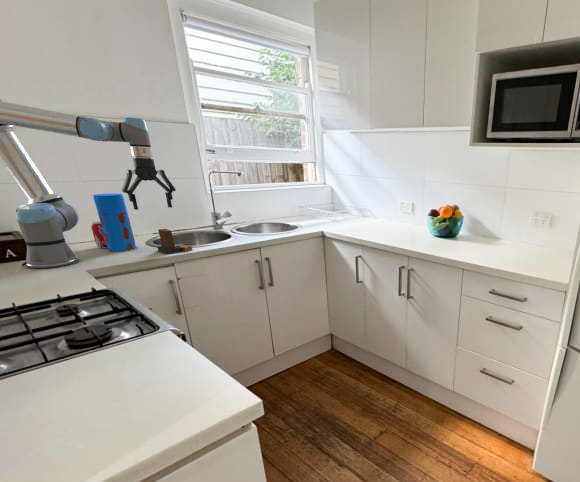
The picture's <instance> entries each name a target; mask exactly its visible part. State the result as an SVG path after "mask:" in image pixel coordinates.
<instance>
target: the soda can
mask: <svg viewBox="0 0 580 482" xmlns="http://www.w3.org/2000/svg"><path fill="white" fill-rule="evenodd" d="M90 227H91V232H92V235H93V238H94V241H95V244H96V247H97V248H99V249H102V250H103V249H105V250H106V249H109V248H108V246H107V243H106V239H105V236H104V233H103V229H102V226H101V222H100V220H99V221H92V222H91V226H90Z"/></svg>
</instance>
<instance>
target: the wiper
mask: <svg viewBox="0 0 580 482" xmlns="http://www.w3.org/2000/svg"><path fill="white" fill-rule="evenodd" d="M157 231H158V235H159V239H160V243H161V245H159V246H157V251H159V252H160V253H163V254H165V255H170V254H176V253H181V252H182V251H180V248H179V247H176V246H175V245H176V244H175V241H174V240H175V239H174V236H173V232H172V230H171V229H167V228H157Z"/></svg>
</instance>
